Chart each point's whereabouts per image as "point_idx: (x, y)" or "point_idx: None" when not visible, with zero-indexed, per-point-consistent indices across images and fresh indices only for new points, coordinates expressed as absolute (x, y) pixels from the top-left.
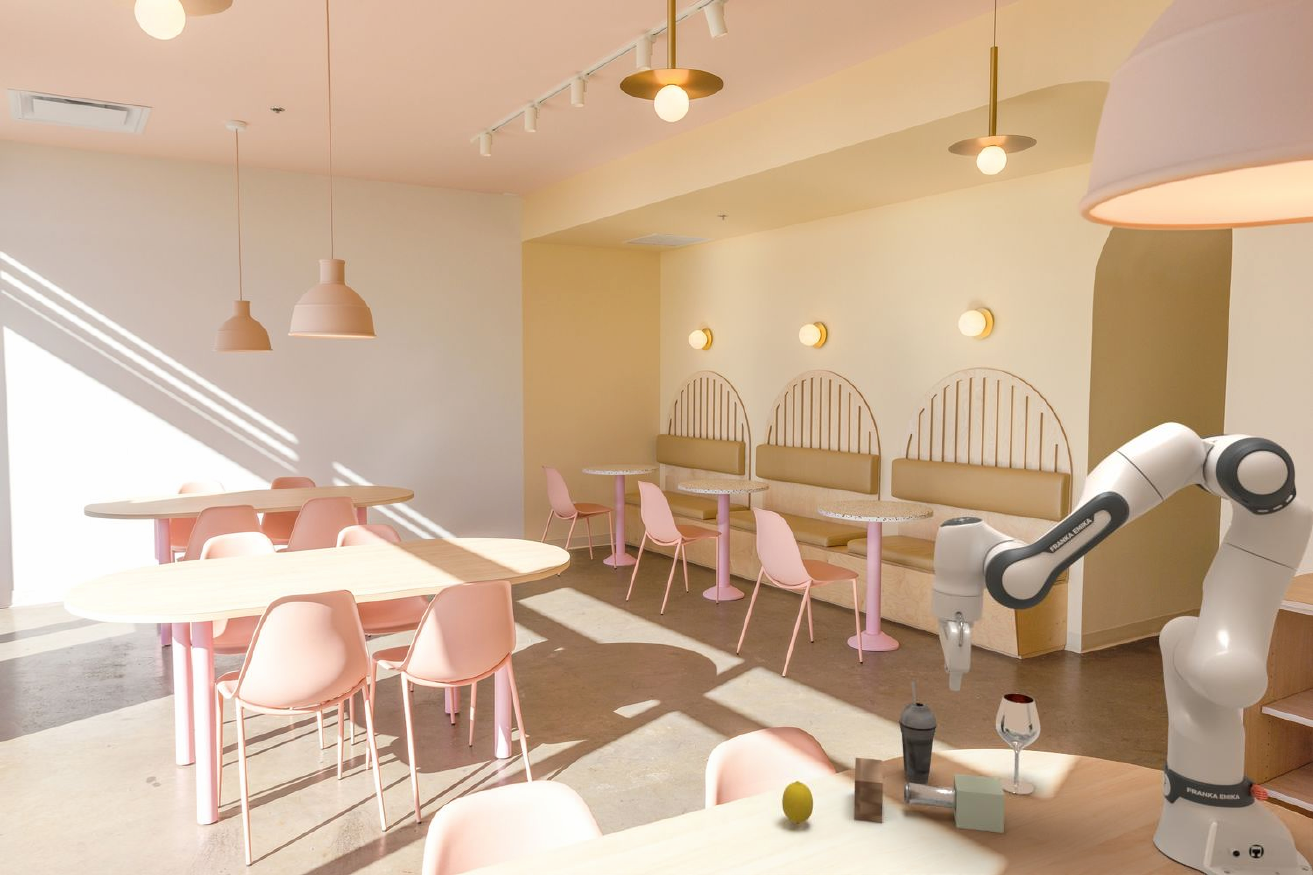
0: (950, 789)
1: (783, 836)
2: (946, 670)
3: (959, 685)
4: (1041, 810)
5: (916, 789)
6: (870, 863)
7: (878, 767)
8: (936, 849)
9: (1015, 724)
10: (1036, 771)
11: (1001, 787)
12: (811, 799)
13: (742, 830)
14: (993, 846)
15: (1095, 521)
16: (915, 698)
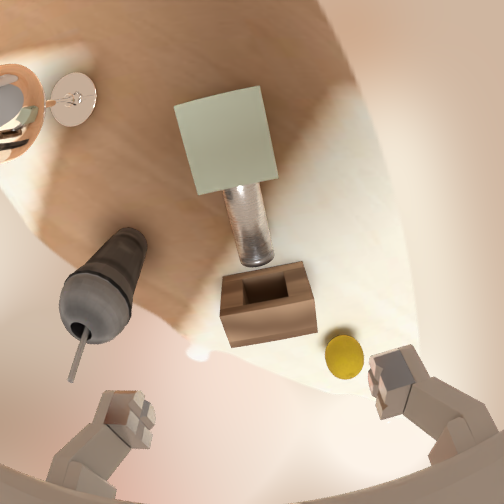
0: (243, 190)
1: (367, 338)
2: (153, 419)
3: (421, 364)
4: (138, 43)
5: (264, 244)
6: (405, 252)
7: (253, 315)
8: (351, 181)
9: (23, 107)
10: None
11: (221, 94)
12: (350, 350)
13: (363, 366)
14: (310, 100)
15: None
16: (80, 345)
